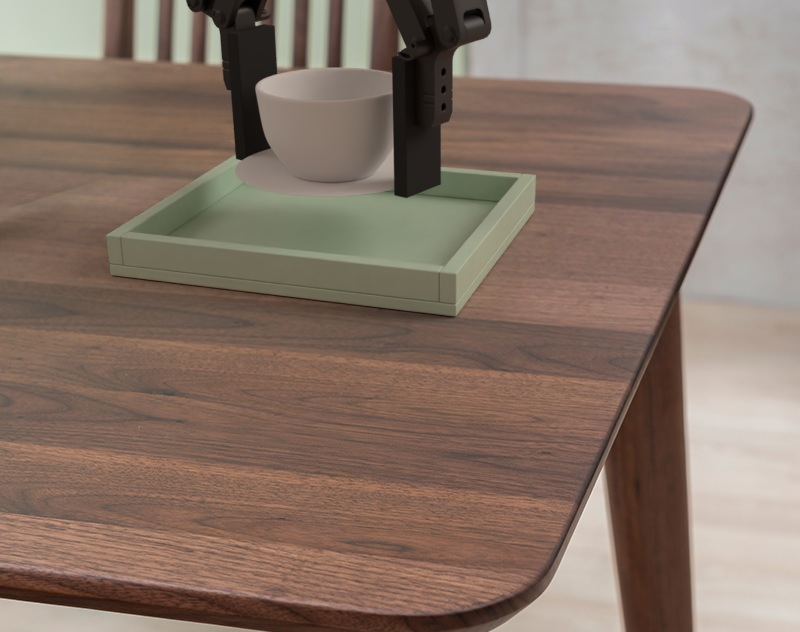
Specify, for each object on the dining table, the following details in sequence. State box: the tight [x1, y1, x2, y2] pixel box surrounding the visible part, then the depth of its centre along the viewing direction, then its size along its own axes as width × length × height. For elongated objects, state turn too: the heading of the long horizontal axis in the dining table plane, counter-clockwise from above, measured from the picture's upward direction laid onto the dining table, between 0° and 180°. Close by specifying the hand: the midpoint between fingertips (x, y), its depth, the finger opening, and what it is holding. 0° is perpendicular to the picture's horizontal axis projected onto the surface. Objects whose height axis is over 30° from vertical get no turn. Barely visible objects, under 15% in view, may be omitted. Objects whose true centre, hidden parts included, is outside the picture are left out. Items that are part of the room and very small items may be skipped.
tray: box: [105, 153, 537, 317], centre depth 65 cm, size 18×16×2 cm
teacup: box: [235, 67, 394, 197], centre depth 63 cm, size 10×10×5 cm
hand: (334, 171), depth 64 cm, fingers closed on teacup, 10 cm apart
